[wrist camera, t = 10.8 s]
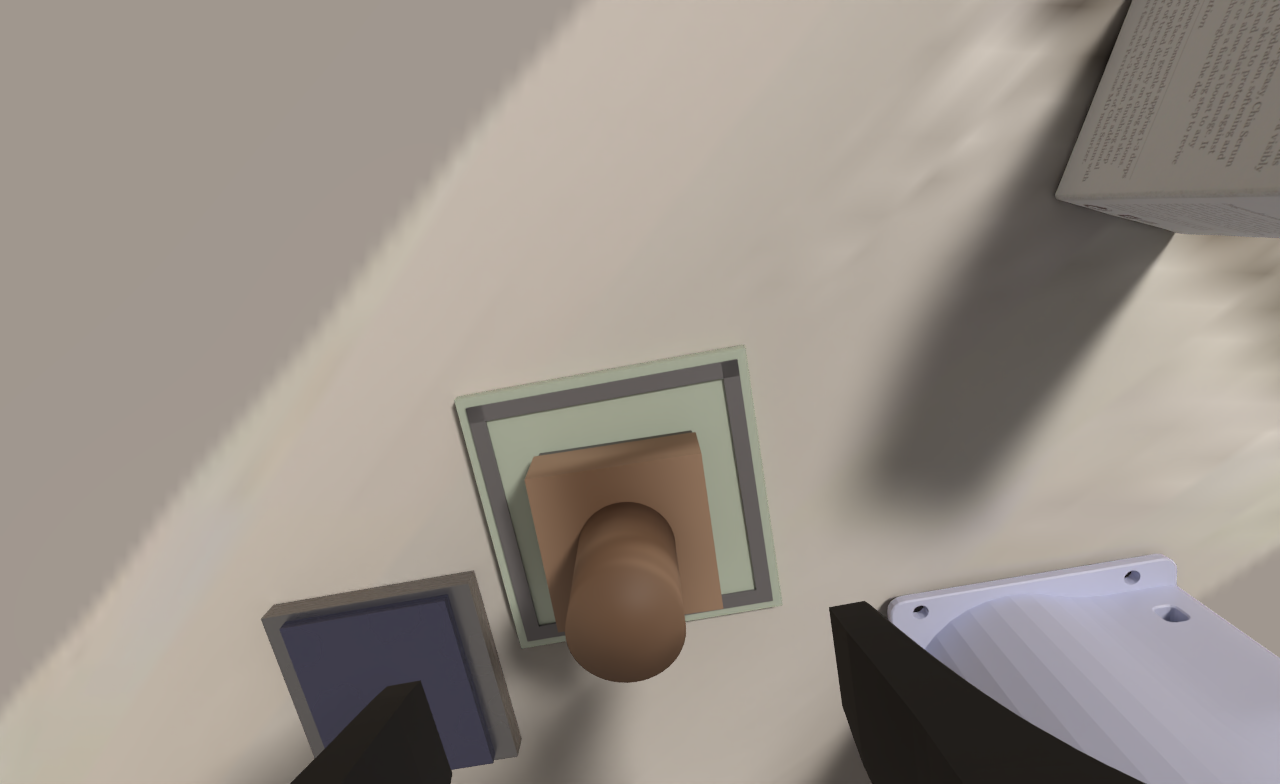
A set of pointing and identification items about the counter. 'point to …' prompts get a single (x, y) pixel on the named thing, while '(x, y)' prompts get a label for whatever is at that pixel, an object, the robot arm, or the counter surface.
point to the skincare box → (1186, 121)
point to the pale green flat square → (616, 411)
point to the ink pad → (398, 662)
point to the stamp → (625, 549)
